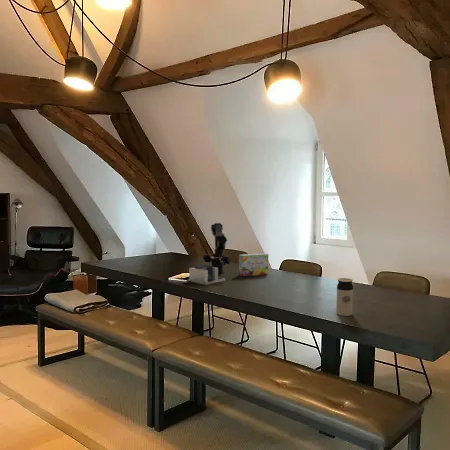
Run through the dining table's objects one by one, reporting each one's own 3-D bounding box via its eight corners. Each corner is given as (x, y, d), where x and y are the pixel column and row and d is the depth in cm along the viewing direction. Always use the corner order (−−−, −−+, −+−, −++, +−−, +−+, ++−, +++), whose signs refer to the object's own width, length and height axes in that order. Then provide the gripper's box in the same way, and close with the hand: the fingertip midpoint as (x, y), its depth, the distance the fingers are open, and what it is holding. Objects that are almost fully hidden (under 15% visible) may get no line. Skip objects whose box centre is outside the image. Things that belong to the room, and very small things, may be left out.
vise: (207, 277, 348) (207, 264, 347) (225, 280, 337) (225, 267, 336) (187, 281, 334) (187, 267, 333) (206, 284, 323) (206, 271, 322)
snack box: (241, 276, 351) (242, 255, 350) (238, 275, 356) (238, 254, 355) (268, 274, 360) (268, 253, 358) (264, 273, 365) (264, 252, 363)
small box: (194, 281, 334) (194, 265, 333) (200, 279, 340) (200, 264, 339) (206, 283, 328) (206, 267, 327) (212, 281, 333) (213, 266, 332)
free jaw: (203, 278, 343) (204, 265, 342) (218, 280, 335) (218, 267, 334) (200, 278, 341) (200, 266, 340) (214, 281, 332) (214, 268, 331)
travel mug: (336, 311, 259) (337, 277, 257) (352, 312, 257) (353, 278, 255) (335, 315, 251) (336, 280, 250) (352, 316, 249) (353, 281, 248)
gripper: (235, 258, 348) (228, 277, 339) (211, 256, 356) (204, 274, 347) (230, 249, 340) (223, 267, 331) (206, 247, 348) (199, 265, 339)
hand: (212, 269), depth 337 cm, fingers closed, pressing on free jaw
